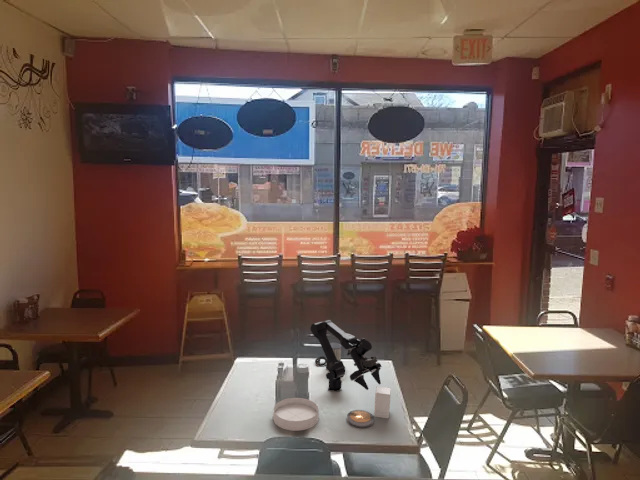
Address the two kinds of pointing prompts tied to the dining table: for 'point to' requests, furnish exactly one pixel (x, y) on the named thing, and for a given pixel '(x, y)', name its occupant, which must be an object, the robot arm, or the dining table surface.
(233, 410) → the dining table surface
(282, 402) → the dish
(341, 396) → the dining table surface
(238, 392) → the dining table surface
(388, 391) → the supplement box
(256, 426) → the dining table surface
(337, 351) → the milk frother
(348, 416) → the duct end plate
